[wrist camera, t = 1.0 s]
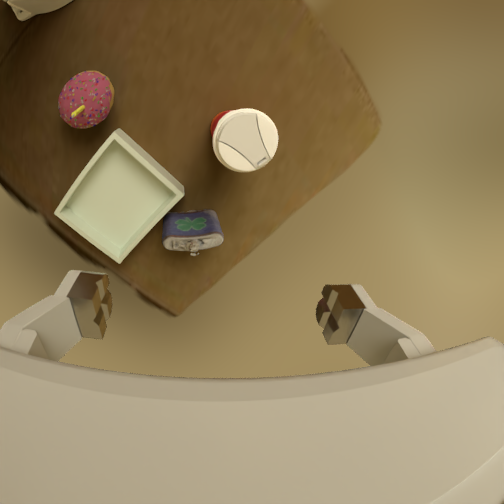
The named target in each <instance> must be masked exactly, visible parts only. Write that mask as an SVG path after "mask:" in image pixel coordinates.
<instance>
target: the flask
mask: <svg viewBox="0 0 504 504" xmlns="http://www.w3.org/2000/svg"><path fill="white" fill-rule="evenodd" d="M223 241H224V235H223V233H222V230H221V227H220V224H219V221H218V217H217V213H216V212H215V211H214V210H210V209H204V210H199V211H197V210H192V211H191V210H190V211H188V212H180V213H178V212H168V213H167V214H166V215H165V217H164V219H163V234H162V244H163V246H164V247H165V248H166V249H168V250H176V251H191V252H197V251H198V250H202V249H207V248H212V247H215V246H219V245H221V244H222V243H223ZM190 255H191V256H196V254H195V253H193V254H192V253H191V254H190ZM197 255H199V253H197Z"/></svg>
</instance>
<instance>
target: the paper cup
mask: <svg viewBox="0 0 504 504" xmlns="http://www.w3.org/2000/svg"><path fill="white" fill-rule="evenodd" d="M210 130H211V135H212V138H213V149H214V152H215V155H216V157H217V158H218V160H219V161H220V162H221V163H222V164H223V165H224V166H225V167H227V168H229V169H231V170H233V171H237V172H251V171H255V170H257V169H260V168H261V167H263V166H264V165H266V164H267V163H268V162H269V161H270V160H271V159H272V157H273V156H274V154H275V152H276V149H277V145H278V133H277V129H276V127H275V125H274V123H273V121H272V120H271V119H270V118H269V117H268V116H267V115H265V114H264V113H262V112H260V111H258V110H254V109H239V110H228V111H223V112H221V113H219V114H217V115H216V116H215V117H214V119H213V120H212V122H211V127H210Z"/></svg>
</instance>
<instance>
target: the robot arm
mask: <svg viewBox="0 0 504 504" xmlns="http://www.w3.org/2000/svg"><path fill="white" fill-rule="evenodd" d="M3 1H5V2H7V3H8V4H9V5H11V7H12V9H13V11H14V13H15V15H16V16H17V18H18V20H20V21H25V20H27V19H29V18H31V17H32V16H34V15H36V14H41V13H47V12H51V11H54V10H56V9H59V8H61V7H63V6H65V5H66V4H68V3H69V2H71V1H72V0H3ZM21 11H22V12H21ZM108 286H109V278H108V275H107V274H106V273H97V272H88V271H78V270H70V271H69V272H68V273H67V275H66V277H65V278H64V279H63V281H62V283H61V284H60V286H59V287H58V289H57V291H56V292H55V294H54V296H53V295H50V296H48V297H46V298H45V299H43V300H41V301H39V302H38V303H36V304H34V305H33V306H31V307H30V308H28V309H26V310H24V311H23V312H21V313H19V314H18V315H16V316H15V317H13V318H12V319H10V320H8V321H7V322H5V323H4V325H3V327H2V328H1V330H0V504H504V344H503V343H501V342H499V341H498V340H496V339H494V338H492V337H484V338H481V339H478V340H475V341H472V342H469V343H466V344H462V345H459V346H456V347H452V348H449V349H445V350H442V351H438V352H436V350H435V349H434V347H433V346H432V345H431V343H430V342H429V340H428V339H427V338H426V336H425V335H424V334H423V333H421V332H420V331H418V330H416V329H415V328H413V327H411V326H410V325H408V324H406V323H405V322H403V321H401V320H400V319H398V318H396V317H395V316H393V315H391V314H389V313H388V312H386V311H385V310H383V309H381V308H377V306H376V305H375V304H374V302H373V301H372V299H371V298H370V297H369V295H368V294H367V292H366V291H365V290H364V288H363V287H362V286H361V285H359V284H348V285H325V286H324V288H323V291H322V295H323V298H322V299H321V300H320V301H319V302H318V305H317V308H316V318H317V322H318V324H319V325H320V326H321V327H323V328H324V330H323V335H324V337H325V340H326V342H327V344H328V345H334V344H347V346H349V347H350V348H351V349H352V350H353V351H354V352H355V353H357V354H358V355H359V356H360V357H361V358H362V359H363V360H364V361H366V362H367V363H368V364H369V365H370V366H368V367H362V368H356V369H350V370H343V371H335V372H327V373H318V374H307V375H297V376H282V377H263V378H185V377H167V376H153V375H143V374H133V373H125V372H117V371H109V370H102V369H96V368H90V367H84V366H78V365H73V364H68V363H63V362H58V361H59V360H60V359H61V358H62V357H63V356H64V355H65V354H66V353H67V352H68V351H69V350H70V349H71V348H72V347H73V346H74V345H75V344H76V343H78V341H80V340H81V339H82V337H85V338H94V339H103V337H104V334H105V331H106V328H107V325H106V320H108V319H109V318H110V315H111V312H112V295H111V293H110V292H109V290H108V289H107V288H108Z"/></svg>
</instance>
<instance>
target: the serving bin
mask: <svg viewBox="0 0 504 504" xmlns="http://www.w3.org/2000/svg"><path fill="white" fill-rule="evenodd" d="M183 196H184V186H183V185H182V184H181V183H180V182H178V181H177V180H176V179H175V178H174V177H173V176H172V175H171V174H170V173H169V172H167V171H166V170H165V169H164V168H163V167H162V166H161V165H160V164H159V163H158V162H156V161H155V160H154V159H153V158H152V157H151V156H150V155H149V154H148V153H147V152H145V151H144V150H143V149H142V148H141V147H140V146H139V145H138V144H137V143H136V142H134V141H133V140H132V139H131V138H130V137H129V136H128V135H127V134H126V133H125V132H123V131H122V130H121V129H120V128H119V129H117V130H115V131H114V132H113V133H112V134H111V135H110V137H109V138H108V139H107V140H106V141H105V143H104V144H103V145H102V146H101V147H100V149H99V150H98V151H97V152H96V154H95V155H94V156H93V158H92V159H91V160H90V161H89V163H88V164H87V165H86V167H85V168H84V169H83V171H82V172H81V174H80V175H79V176H78V178H77V179H76V181H75V182H74V183H73V185H72V186H71V188H70V189H69V191H68V192H67V194H66V195H65V197H64V198H63V200H62V201H61V203H60V204H59V206H58V208H57V209H56V211H55V212H54V214H55V215H57V216H58V217H59V218H60V219H61V220H63V221H64V222H65V223H66V224H68V225H69V226H70V227H71V228H73V229H74V230H75V231H76V232H78V233H79V234H80V235H81V236H83V237H84V238H85V239H87V240H88V241H89V242H91V243H92V244H93V245H94V246H96V247H97V248H98V249H100V250H101V251H102V252H104V253H105V254H107V255H108V256H109V257H111V258H112V259H113V260H115V261H116V262H118V263H119V264H120V263H121V262H122V261H123V259H124V258H125V257H126V256H127V255H128V254H129V253H130V252H131V250H132V249H133V248H134V247H135V246H136V245H137V244H138V243H139V242H140V240H141V239H142V238H143V237H144V236H145V235H146V234H147V233H148V232H149V231H150V230H151V229H152V228H153V227H154V225H155V224H156V223H157V222H158V221H159V220H160V219H161V218H162V217H163V216H164V215H165V214H166V213H167V212H168V211H169V210H170V209H171V208H172V207H173V206H174V205H175V204H176V203H177V202H178V201H179V200H180V199H181V198H182V197H183Z"/></svg>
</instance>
